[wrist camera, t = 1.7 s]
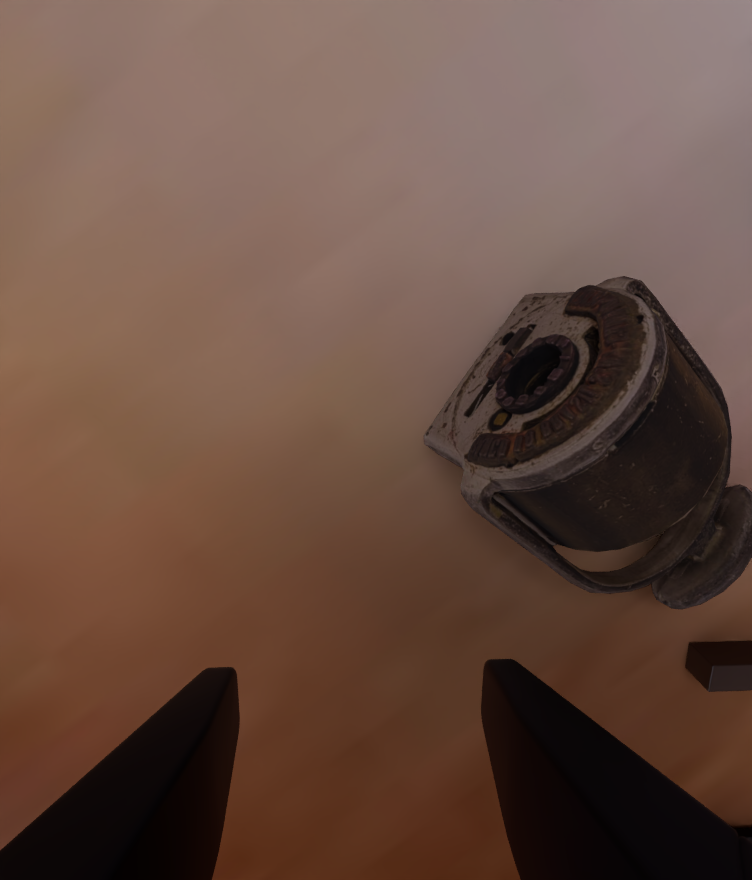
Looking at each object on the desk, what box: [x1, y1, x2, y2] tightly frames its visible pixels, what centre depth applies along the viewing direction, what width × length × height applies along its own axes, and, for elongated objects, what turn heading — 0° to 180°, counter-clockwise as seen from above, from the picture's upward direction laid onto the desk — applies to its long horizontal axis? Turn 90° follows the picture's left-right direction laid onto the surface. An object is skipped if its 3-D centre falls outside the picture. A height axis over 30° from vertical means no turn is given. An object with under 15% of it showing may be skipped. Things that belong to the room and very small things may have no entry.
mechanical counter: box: [424, 276, 752, 609], centre depth 16 cm, size 7×13×10 cm
